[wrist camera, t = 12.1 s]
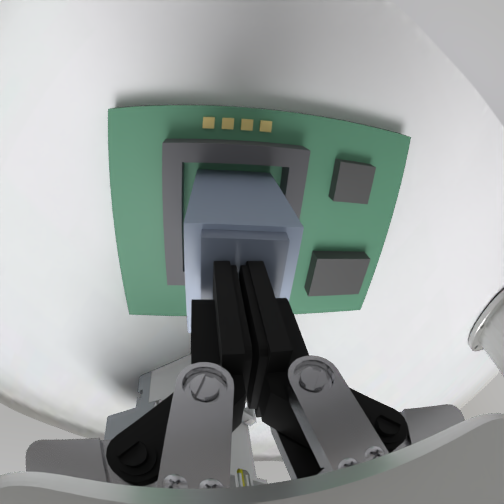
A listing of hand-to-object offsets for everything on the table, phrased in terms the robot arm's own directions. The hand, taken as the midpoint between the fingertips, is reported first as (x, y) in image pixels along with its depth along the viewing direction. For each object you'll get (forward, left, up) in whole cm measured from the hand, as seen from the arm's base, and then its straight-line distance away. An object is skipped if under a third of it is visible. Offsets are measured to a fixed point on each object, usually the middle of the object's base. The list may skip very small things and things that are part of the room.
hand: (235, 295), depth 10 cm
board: (-2, +1, -9) cm, 9 cm away
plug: (0, 0, -8) cm, 8 cm away
